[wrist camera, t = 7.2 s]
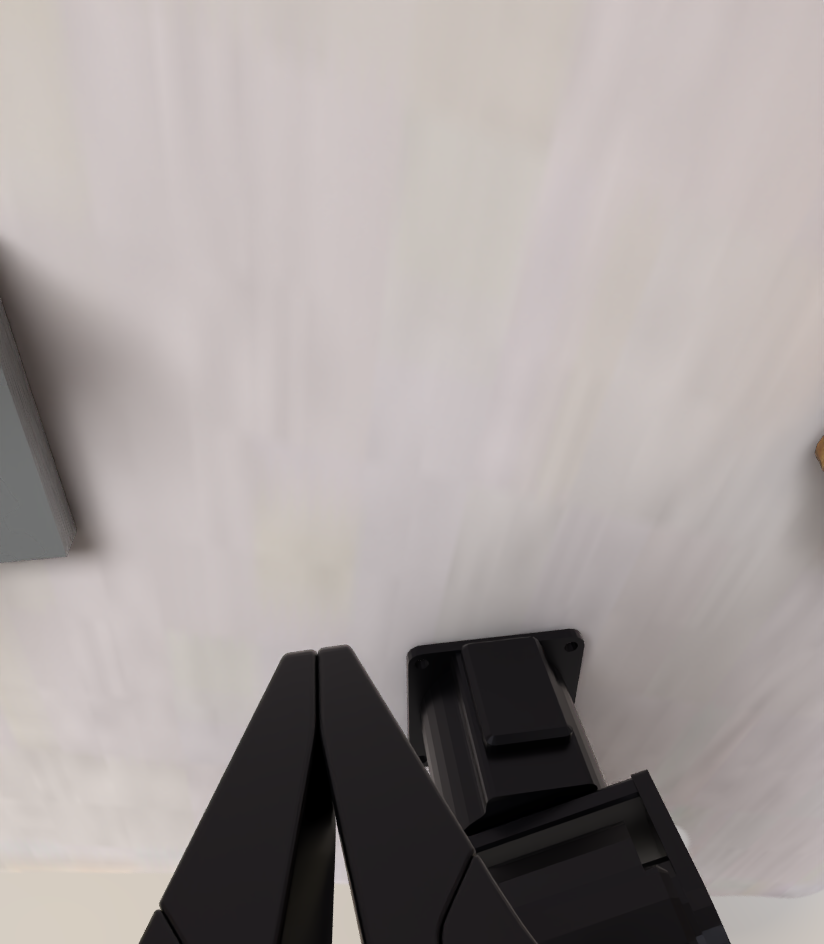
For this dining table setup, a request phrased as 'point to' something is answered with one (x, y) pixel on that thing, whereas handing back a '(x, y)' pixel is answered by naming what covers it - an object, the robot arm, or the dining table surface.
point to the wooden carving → (820, 452)
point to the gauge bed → (27, 469)
